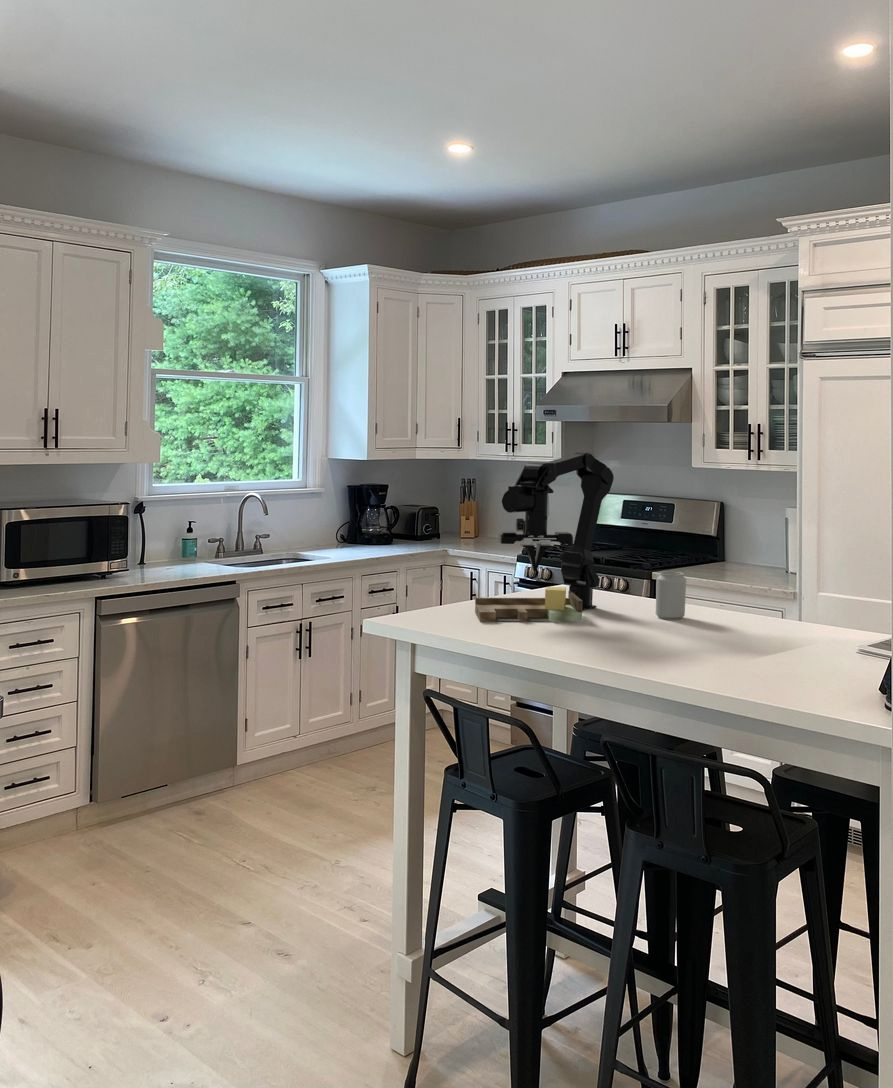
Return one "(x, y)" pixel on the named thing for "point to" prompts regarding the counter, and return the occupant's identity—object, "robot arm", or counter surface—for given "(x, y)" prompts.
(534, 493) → the robot arm
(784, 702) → the counter surface
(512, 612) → the deck
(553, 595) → the block
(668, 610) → the can
